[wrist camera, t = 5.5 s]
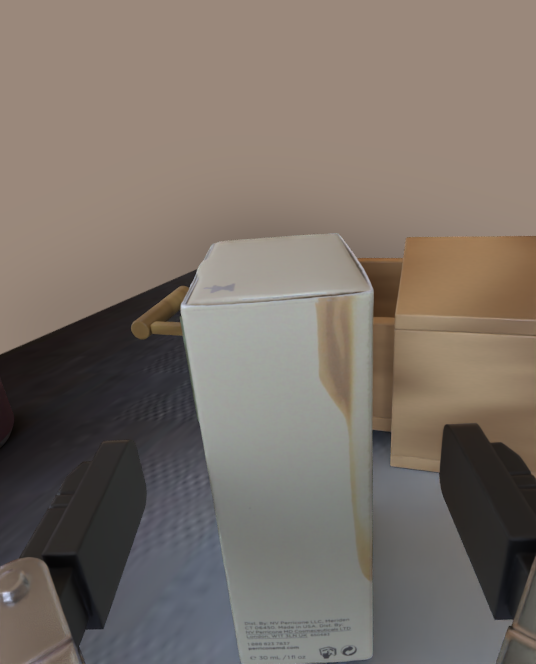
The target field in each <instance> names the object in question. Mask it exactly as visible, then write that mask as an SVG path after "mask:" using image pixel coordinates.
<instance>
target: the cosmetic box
mask: <svg viewBox="0 0 536 664" xmlns="http://www.w3.org/2000/svg"><path fill="white" fill-rule="evenodd" d="M373 306H374V289H373V287H372V285H371V282H370V280H369V278H368V276H367V274H366V272H365V270H364V268H363V267H362V265H361V263H360V262H359V261H358V259H357V258H356V256H355V254H354V253H353V252H352V250H351V249H350V247H349V246H348V245H347V243H346V242H345V241H344V240H343V239H342V237H341V236H340V235H339V234H338V233H333V234H314V235H296V236H284V237H273V238H272V237H271V238H257V239H244V240H230V241H222V242H217V243H215V244H212V245H211V247H210V249H209V251H208V253H207V255H206V256H205V259H204V261H203V262H202V263H201V264H200V265H199V267H198V270H197V273H196V276H195V278H194V280H193V282H192V284H191V286H190V288H189V290H188V292H187V294H186V296H185V298H184V300H183V302H182V303H181V316H182V321H183V326H184V332H185V339H186V345H187V351H188V357H189V363H190V369H191V375H192V380H193V387H194V393H195V399H196V405H197V410H198V416H199V422H200V428H201V433H202V439H203V445H204V451H205V457H206V463H207V469H208V474H209V480H210V486H211V491H212V497H213V503H214V509H215V515H216V520H217V526H218V532H219V538H220V544H221V550H222V556H223V562H224V568H225V573H226V579H227V585H228V591H229V597H230V603H231V610H232V616H233V622H234V627H235V633H236V639H237V645H238V651H239V657H240V661H241V663H242V664H307V663H329V662H345V661H355V660H367V659H370V658H371V657H372V655H373V574H372V558H373V460H372V422H373Z"/></svg>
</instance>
